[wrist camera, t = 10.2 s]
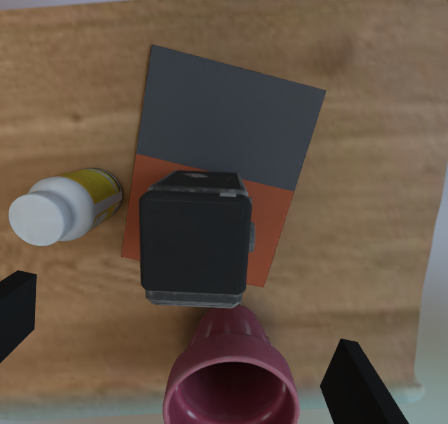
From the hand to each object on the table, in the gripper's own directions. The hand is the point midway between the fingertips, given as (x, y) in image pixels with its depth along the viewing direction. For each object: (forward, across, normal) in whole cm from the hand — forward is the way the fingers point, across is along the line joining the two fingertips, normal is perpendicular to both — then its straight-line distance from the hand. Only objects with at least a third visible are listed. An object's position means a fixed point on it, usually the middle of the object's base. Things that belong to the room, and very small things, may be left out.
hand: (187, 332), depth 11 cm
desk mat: (+23, 0, +3) cm, 24 cm away
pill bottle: (+24, -14, -2) cm, 28 cm away
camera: (+23, 0, -1) cm, 23 cm away
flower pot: (+24, +6, -18) cm, 30 cm away
